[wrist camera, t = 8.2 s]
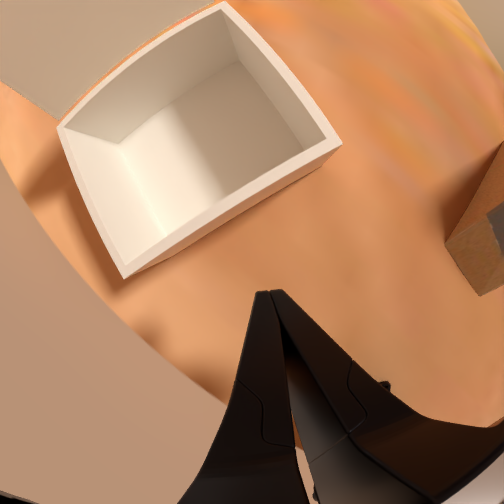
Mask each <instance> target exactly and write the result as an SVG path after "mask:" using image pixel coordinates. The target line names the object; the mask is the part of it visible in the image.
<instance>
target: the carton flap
mask: <svg viewBox="0 0 504 504" xmlns="http://www.w3.org/2000/svg"><path fill="white" fill-rule="evenodd" d="M212 3H214V0H0V81H1V82H3V83H4V84H6V85H7V86H9V87H10V88H12V89H13V90H14V91H16V92H17V93H19V94H20V95H22V96H23V97H25V98H26V99H28V100H29V101H30V102H32V103H33V104H35V105H36V106H38V107H39V108H41V109H42V110H44V111H45V112H47V113H48V114H49V115H51V116H52V117H54V118H55V119H57V120H58V121H59V120H60V119H61V117H62V116H63V115H64V114H65V113H66V112H67V111H68V110H69V109H70V108H71V107H72V106H73V105H74V103H75V102H76V101H77V100H78V99H79V98H80V97H81V96H82V95H83V94H84V93H85V92H86V91H87V90H89V89H90V88H91V87H92V86H93V85H94V84H95V83H96V82H97V81H98V80H99V79H100V78H102V77H103V76H104V75H105V74H106V73H107V72H108V71H110V70H111V69H112V68H113V67H114V66H115V65H117V64H118V63H119V62H120V61H122V60H123V59H124V58H125V57H127V56H128V55H129V54H131V53H132V52H133V51H135V50H136V49H137V48H139V47H140V46H141V45H143V44H144V43H146V42H147V41H148V40H150V39H151V38H153V37H154V36H156V35H157V34H159V33H160V32H162V31H163V30H165V29H167V28H168V27H170V26H171V25H173V24H175V23H176V22H178V21H180V20H182V19H183V18H185V17H187V16H189V15H190V14H192V13H194V12H196V11H198V10H200V9H202V8H204V7H206V6H208V5H210V4H212Z"/></svg>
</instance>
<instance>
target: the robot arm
mask: <svg viewBox="0 0 504 504" xmlns="http://www.w3.org/2000/svg"><path fill="white" fill-rule="evenodd" d="M386 385H387V386H386ZM385 386H386V387H385ZM390 388H391V385H390V383H389V382H388V381H385V382H381V383H378V382H377V381H376V380H374V379H373V378H372V377H371V376H370V375H369V374H368V373H367V372H366V371H365V370H364V369H362V368H361V367H360V366H359V365H358V364H357V363H356V362H355V361H354V360H352V358H351V357H350V356H349V355H348V354H347V353H346V352H345V351H344V350H343V349H342V348H341V347H340V346H339V345H338V344H337V343H336V342H335V341H334V340H333V339H332V338H331V337H330V336H329V335H328V334H327V333H326V332H325V331H324V330H323V329H322V328H321V327H320V326H319V325H318V324H317V323H316V322H315V321H314V320H313V319H312V318H311V317H310V316H309V315H308V314H307V313H306V312H305V311H304V310H303V309H302V308H301V307H300V306H299V305H298V304H297V303H296V302H295V301H294V300H293V299H292V298H291V297H290V296H289V295H288V294H287V293H286V292H285V291H284V290H282V289H276V290H270V291H267V290H266V291H257V292H256V293H255V297H254V302H253V306H252V310H251V315H250V319H249V323H248V327H247V332H246V336H245V340H244V344H243V349H242V353H241V357H240V361H239V365H238V369H237V374H236V378H235V381H234V385H233V389H232V393H231V397H230V400H229V403H228V407H227V410H226V412H225V415H224V417H223V420H222V423H221V425H220V427H219V430H218V432H217V434H216V437H215V439H214V441H213V443H212V446H211V448H210V450H209V452H208V455H207V457H206V459H205V461H204V463H203V465H202V467H201V469H200V471H199V473H198V474H197V476H196V478H195V479H194V481H193V483H192V484H191V485H190V487H189V488H188V489H187V491H186V492H185V494H184V495H183V496H182V498H181V499H180V500H179V502H178V503H177V504H310V503H309V500H308V496H307V493H306V490H305V487H304V484H303V481H302V477H301V474H300V471H299V467H298V463H297V456H296V449H295V439H294V430H293V422H292V414H293V417H294V420H295V424H296V427H297V430H298V433H299V436H300V440H301V443H302V446H303V449H304V452H305V455H306V459H307V462H308V464H309V469H310V472H311V475H312V478H313V481H314V493H313V499H314V500H315V501H317V502H318V503H319V504H504V417H502V418H501V419H499V420H498V421H496V422H495V423H493V424H492V425H490V426H489V427H487V428H485V427H475V426H468V425H461V424H455V423H450V422H444V421H439V420H434V419H431V418H428V417H425V416H423V415H421V414H419V413H417V412H416V411H414V410H413V409H412V408H410V407H409V406H408V405H406V404H405V403H404V402H402V401H401V400H400V399H398V398H397V397H396V396H395V395H393V394H392V393H391V392H390ZM291 411H292V414H291ZM0 504H38V503H35V502H33V501H30V500H27V499H24V498H21V497H17V496H14V495H11V494H8V493H6V492H3V491H0Z"/></svg>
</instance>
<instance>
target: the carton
mask: <svg viewBox="0 0 504 504" xmlns="http://www.w3.org/2000/svg"><path fill="white" fill-rule="evenodd" d="M57 131H58V134H59V137H60V140H61V143H62V146H63V149H64V152H65V155H66V158H67V160H68V163H69V166H70V168H71V171H72V173H73V176H74V179H75V181H76V183H77V186H78V188H79V191H80V193H81V195H82V198H83V200H84V202H85V205H86V207H87V209H88V211H89V213H90V216H91V218H92V220H93V222H94V224H95V226H96V228H97V230H98V232H99V234H100V236H101V238H102V240H103V242H104V244H105V246H106V248H107V250H108V252H109V254H110V256H111V257H112V259H113V261H114V263H115V265H116V267H117V268H118V270H119V272H120V274H121V275H122V277H123V279H126V278H128V277H130V276H132V275H134V274H136V273H138V272H140V271H142V270H144V269H146V268H148V267H151V266H153V265H155V264H157V263H159V262H161V261H163V260H165V259H167V258H169V257H172V256H174V255H175V254H177V253H178V252H180V251H182V250H183V249H185V248H186V247H188V246H189V245H191V244H192V243H194V242H196V241H197V240H199V239H200V238H202V237H203V236H205V235H207V234H208V233H210V232H211V231H213V230H215V229H216V228H218V227H219V226H221V225H223V224H224V223H226V222H227V221H229V220H231V219H232V218H234V217H236V216H237V215H239V214H241V213H242V212H244V211H246V210H247V209H249V208H250V207H252V206H254V205H255V204H257V203H259V202H260V201H262V200H264V199H266V198H267V197H269V196H271V195H272V194H274V193H276V192H277V191H279V190H281V189H283V188H284V187H286V186H288V185H289V184H291V183H293V182H295V181H296V180H298V179H300V178H302V177H303V176H305V175H307V174H309V173H310V172H312V171H314V170H316V169H318V168H319V167H321V166H322V165H323V164H324V163H325V162H326V161H327V160H328V159H329V158H330V157H331V156H332V155H333V154H334V153H335V152H336V151H337V150H338V148H339V147H340V146H341V145H342V144H343V143H342V141H341V140H340V138H339V137H338V135H337V134H336V132H335V130H334V129H333V127H332V126H331V124H330V123H329V122H328V120H327V119H326V117H325V116H324V114H323V113H322V111H321V110H320V109H319V107H318V106H317V104H316V103H315V102H314V100H313V99H312V97H311V96H310V95H309V93H308V92H307V91H306V89H305V88H304V87H303V86H302V84H301V83H300V82H299V80H298V79H297V78H296V77H295V75H294V74H293V73H292V72H291V70H290V69H289V68H288V67H287V66H286V64H285V63H284V62H283V61H282V60H281V58H280V57H279V56H278V55H277V54H276V53H275V51H274V50H273V49H272V48H271V47H270V46H269V45H268V44H267V43H266V41H265V40H264V39H263V38H262V37H261V36H260V35H259V34H258V33H257V32H256V31H255V30H254V29H253V28H252V27H251V26H250V25H249V24H248V23H247V22H246V21H245V20H244V19H243V18H242V17H241V16H240V15H239V14H238V13H237V12H236V11H235V10H234V9H233V8H232V7H231V6H230V5H229V4H228V3H227V2H225V1H223V2H221V3H219V4H217V5H215V6H213V7H211V8H209V9H207V10H205V11H203V12H201V13H199V14H197V15H195V16H193V17H192V18H190V19H188V20H186V21H184V22H183V23H181V24H179V25H178V26H176V27H174V28H173V29H171V30H169V31H168V32H166V33H165V34H163V35H162V36H160V37H159V38H157V39H156V40H154V41H153V42H151V43H150V44H148V45H147V46H145V47H144V48H143V49H141V50H140V51H139V52H137V53H136V54H135V55H133V56H132V57H131V58H129V59H128V60H127V61H125V62H124V63H123V64H122V65H120V66H119V67H118V68H117V69H116V70H114V71H113V72H112V73H111V74H110V75H108V76H107V77H106V78H105V79H104V80H103V81H102V82H101V83H99V84H98V85H97V86H96V87H95V88H94V89H93V90H92V91H91V92H90V93H89V94H88V95H87V96H86V97H85V98H84V99H83V100H82V101H81V102H80V103H79V104H78V105H77V106H76V107H75V108H74V109H73V110H72V111H71V112H70V113H69V114H68V115H67V116H66V117H65V118H64V120H63V121H62V122H61V123H60V124H59V125H58V126H57Z"/></svg>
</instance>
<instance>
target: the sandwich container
mask: <svg viewBox="0 0 504 504" xmlns="http://www.w3.org/2000/svg"><path fill="white" fill-rule="evenodd" d="M445 247H446V249H447V250H448V252H449V253H450V255H451V256H452V258H453V259H454V261H455V262H456V264H457V265H458V267H459V268H460V270H461V271H462V273H463V275H464V276H465V277H466V279H467V280H468V281H469V283H470V284H471V286H472V287H473V288H474V290H475V291H476V293H477V294H478V296H482V295H484V294H486V293H488V292H490V291H492V290H494V289H496V288H498V287H500V286H502V285H504V141H503V143H502V145H501V147H500V149H499V151H498V153H497V154H496V156H495V158H494V160H493V162H492V164H491V166H490V167H489V169H488V171H487V173H486V174H485V177H484V178H483V180H482V182H481V184H480V186H479V188H478V190H477V192H476V193H475V195H474V197H473V199H472V201H471V202H470V204H469V206H468V207H467V209H466V211H465V213H464V214H463V216H462V217H461V219H460V221H459V222H458V224H457V225H456V227H455V229H454V230H453V232H452V233H451V235H450V236H449V238H448V239H447V241H446V242H445Z"/></svg>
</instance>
